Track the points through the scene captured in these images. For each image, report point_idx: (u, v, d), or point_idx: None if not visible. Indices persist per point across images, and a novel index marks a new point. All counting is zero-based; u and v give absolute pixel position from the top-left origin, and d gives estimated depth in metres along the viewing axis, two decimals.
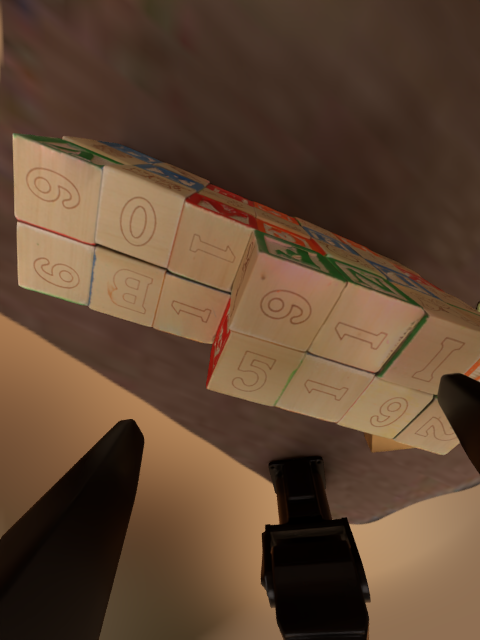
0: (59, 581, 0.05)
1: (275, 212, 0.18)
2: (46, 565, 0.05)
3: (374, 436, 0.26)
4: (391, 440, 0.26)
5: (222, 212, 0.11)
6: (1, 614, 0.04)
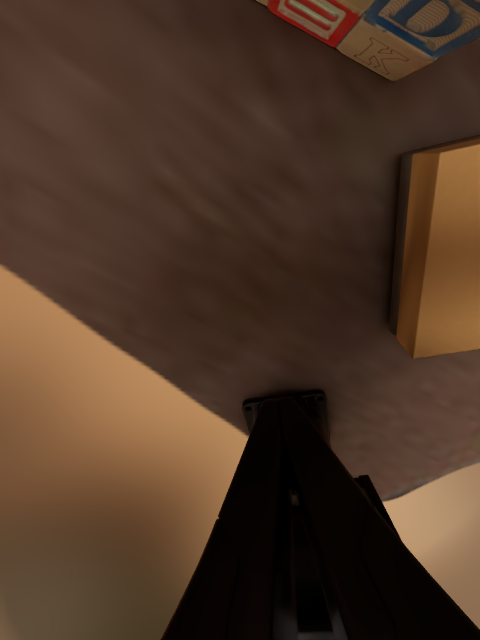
0: (284, 565, 0.05)
1: None
2: (280, 546, 0.05)
3: (422, 321, 0.14)
4: (452, 330, 0.14)
5: None
6: (274, 598, 0.04)
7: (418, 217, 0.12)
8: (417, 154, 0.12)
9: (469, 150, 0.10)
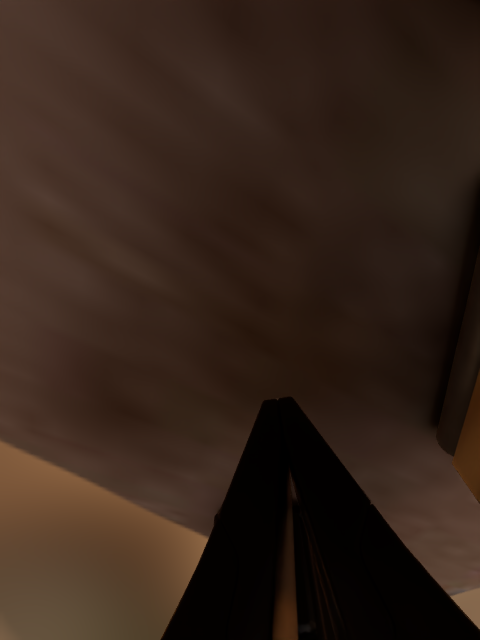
0: (284, 565, 0.05)
1: None
2: (280, 546, 0.05)
3: None
4: None
5: None
6: (274, 598, 0.04)
7: None
8: None
9: None
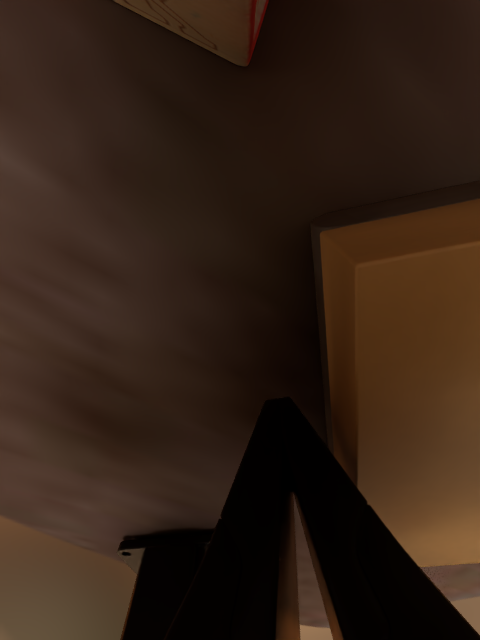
0: (287, 565, 0.05)
1: None
2: (282, 546, 0.05)
3: None
4: (422, 544, 0.07)
5: None
6: (277, 598, 0.04)
7: (338, 366, 0.06)
8: (325, 238, 0.05)
9: (438, 259, 0.04)
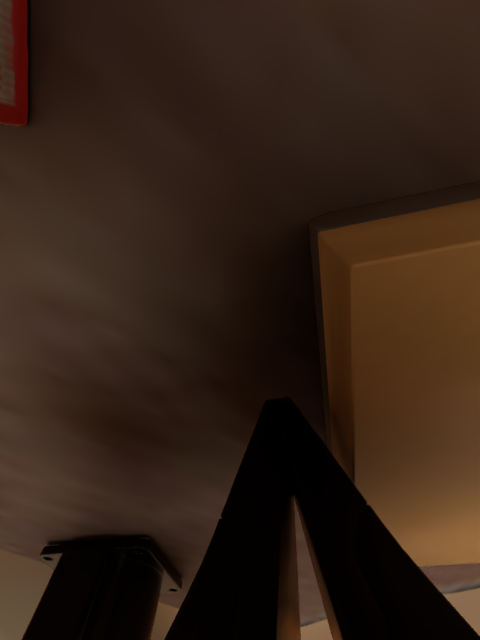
0: (287, 564, 0.05)
1: None
2: (283, 546, 0.05)
3: None
4: (420, 544, 0.08)
5: None
6: (277, 598, 0.04)
7: (336, 365, 0.06)
8: (322, 238, 0.05)
9: (433, 260, 0.04)
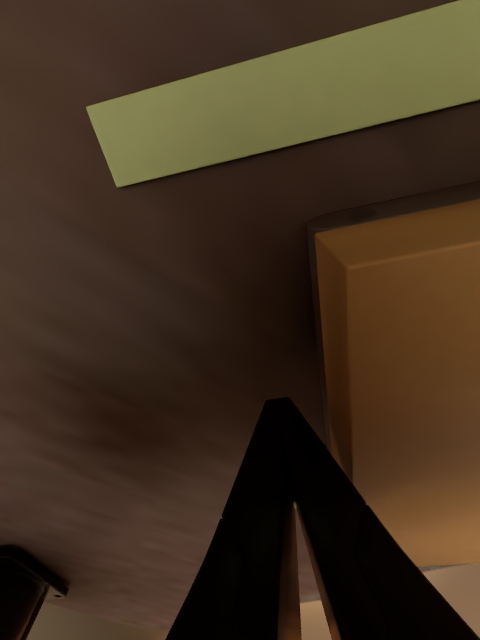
0: (288, 565, 0.05)
1: None
2: (284, 546, 0.05)
3: None
4: (419, 544, 0.08)
5: None
6: (278, 598, 0.04)
7: (333, 366, 0.06)
8: (319, 239, 0.05)
9: (428, 261, 0.04)
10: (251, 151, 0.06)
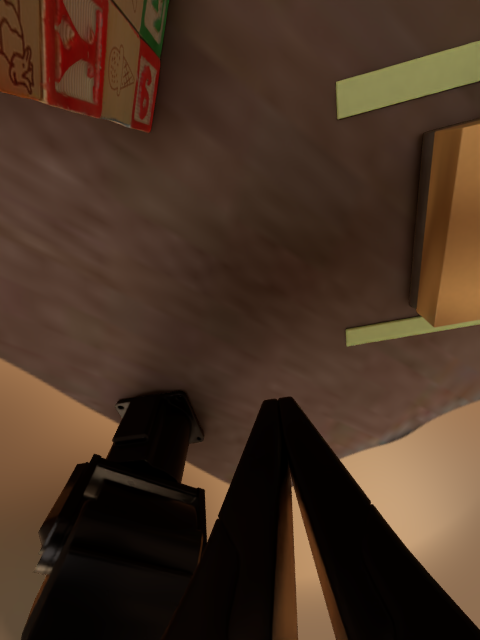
0: (284, 565, 0.05)
1: None
2: (279, 546, 0.05)
3: (443, 290, 0.15)
4: (471, 298, 0.15)
5: None
6: (273, 598, 0.04)
7: (440, 191, 0.13)
8: (439, 131, 0.13)
9: None
10: (402, 100, 0.13)
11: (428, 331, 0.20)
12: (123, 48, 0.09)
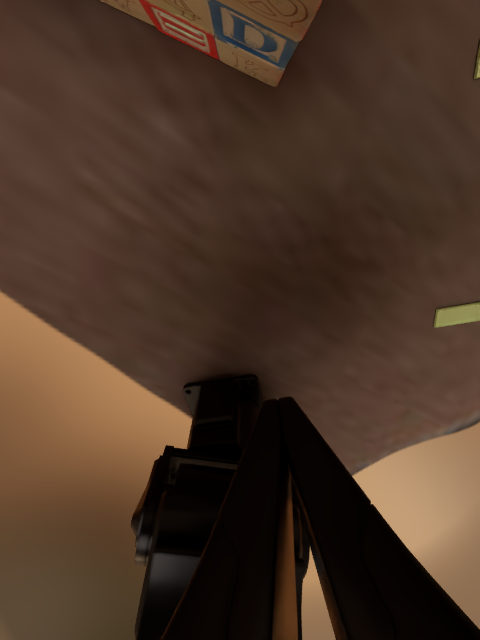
0: (284, 565, 0.05)
1: None
2: (280, 546, 0.05)
3: None
4: None
5: None
6: (274, 598, 0.04)
7: None
8: None
9: None
10: None
11: None
12: None
